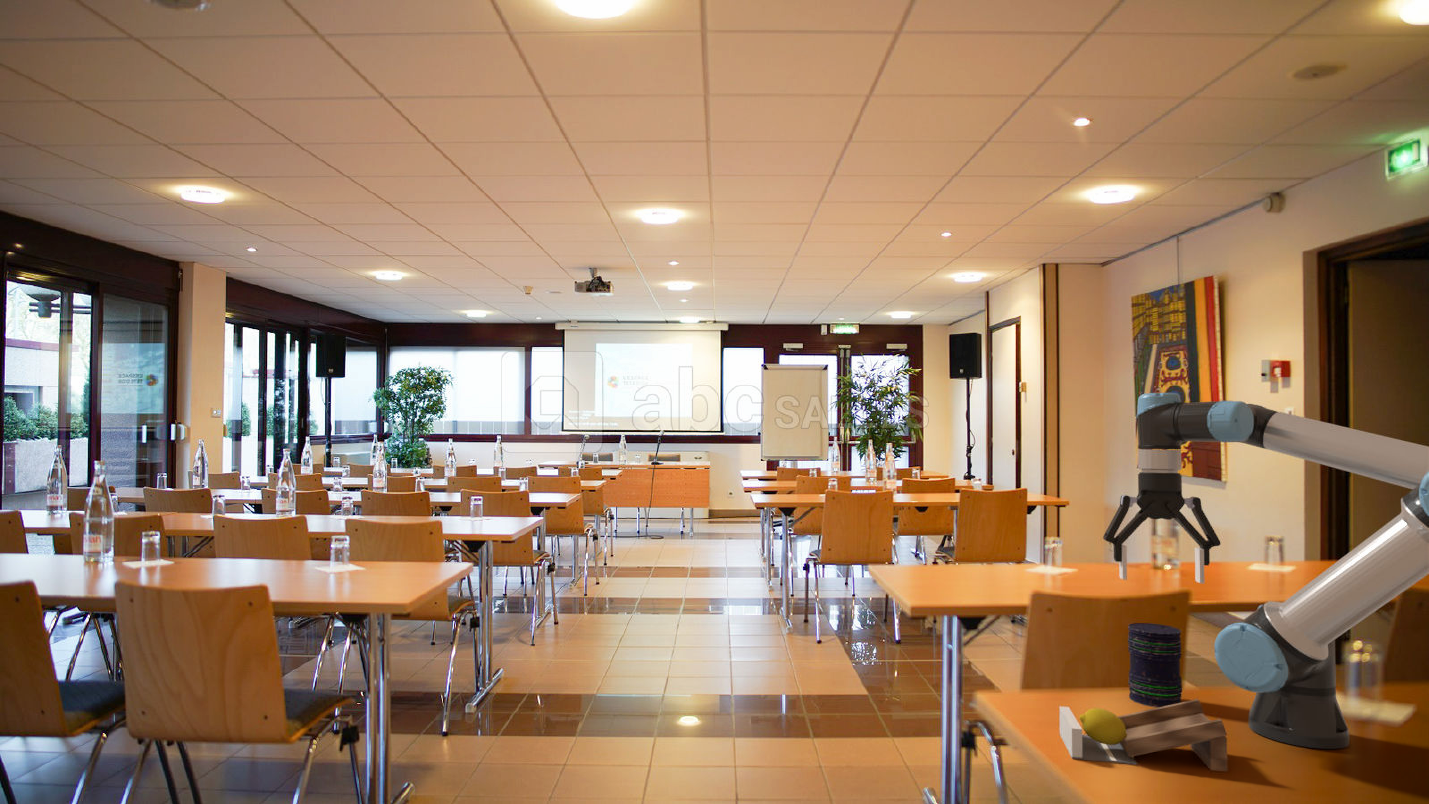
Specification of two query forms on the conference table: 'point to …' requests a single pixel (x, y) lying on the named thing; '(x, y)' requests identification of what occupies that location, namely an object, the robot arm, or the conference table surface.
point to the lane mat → (1103, 752)
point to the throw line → (1108, 752)
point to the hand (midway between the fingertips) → (1161, 580)
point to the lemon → (1103, 726)
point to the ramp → (1176, 732)
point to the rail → (1070, 732)
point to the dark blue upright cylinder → (1154, 664)
